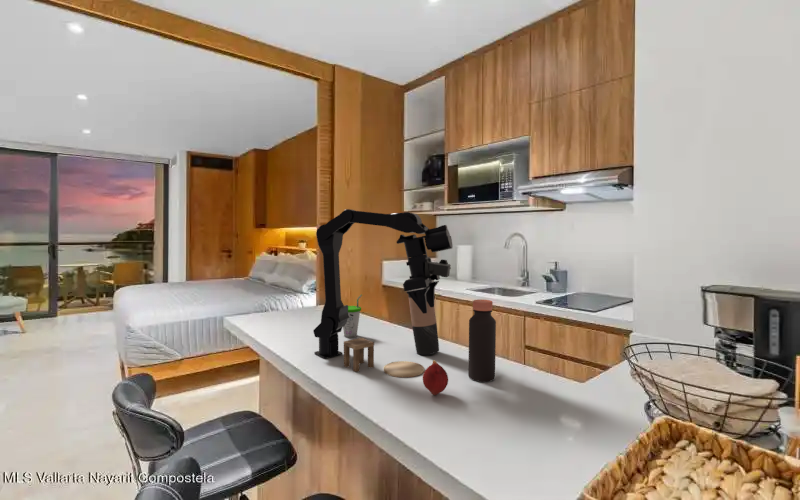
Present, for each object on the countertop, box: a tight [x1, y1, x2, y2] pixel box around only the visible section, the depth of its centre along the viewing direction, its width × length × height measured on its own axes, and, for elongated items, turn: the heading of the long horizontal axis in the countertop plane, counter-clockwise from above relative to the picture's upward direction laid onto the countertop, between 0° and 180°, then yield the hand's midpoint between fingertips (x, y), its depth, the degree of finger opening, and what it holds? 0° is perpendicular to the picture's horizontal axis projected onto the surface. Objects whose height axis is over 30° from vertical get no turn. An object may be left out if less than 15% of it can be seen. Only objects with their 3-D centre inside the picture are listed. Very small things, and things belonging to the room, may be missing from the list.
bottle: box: [467, 299, 497, 383], centre depth 101 cm, size 7×7×20 cm
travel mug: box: [407, 294, 440, 356], centre depth 122 cm, size 8×8×20 cm
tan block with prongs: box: [343, 337, 375, 373], centre depth 109 cm, size 6×6×7 cm
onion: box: [422, 359, 449, 396], centre depth 90 cm, size 6×6×8 cm
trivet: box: [383, 360, 425, 378], centre depth 107 cm, size 11×11×1 cm
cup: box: [342, 294, 363, 339], centre depth 141 cm, size 8×8×15 cm
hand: (428, 310), depth 111 cm, fingers open, 9 cm apart
